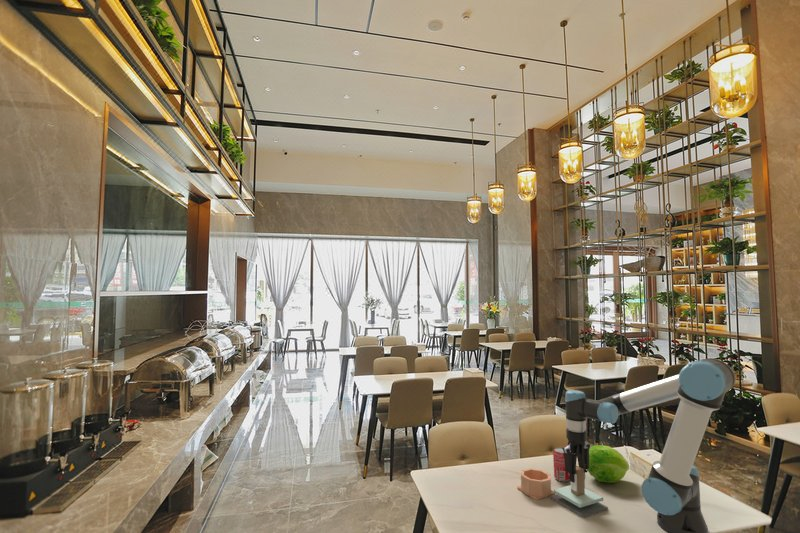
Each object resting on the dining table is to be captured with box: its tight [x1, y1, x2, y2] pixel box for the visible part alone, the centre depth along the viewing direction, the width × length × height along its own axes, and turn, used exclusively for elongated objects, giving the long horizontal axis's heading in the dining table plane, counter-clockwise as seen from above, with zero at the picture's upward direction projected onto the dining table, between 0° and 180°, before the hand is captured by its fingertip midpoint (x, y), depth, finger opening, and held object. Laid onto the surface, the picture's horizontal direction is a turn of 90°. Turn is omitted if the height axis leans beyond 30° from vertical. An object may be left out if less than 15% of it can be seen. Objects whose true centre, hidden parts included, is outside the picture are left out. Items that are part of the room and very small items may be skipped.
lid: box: [553, 464, 604, 508], centre depth 160 cm, size 13×13×11 cm
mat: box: [549, 494, 609, 518], centre depth 159 cm, size 16×14×1 cm
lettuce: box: [585, 444, 630, 483], centre depth 180 cm, size 17×20×15 cm
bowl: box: [516, 468, 556, 501], centre depth 169 cm, size 12×12×7 cm
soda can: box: [552, 447, 570, 483], centre depth 182 cm, size 7×7×13 cm
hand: (577, 488), depth 159 cm, fingers closed on lid, 4 cm apart
